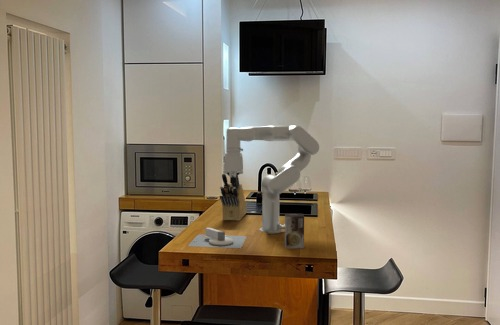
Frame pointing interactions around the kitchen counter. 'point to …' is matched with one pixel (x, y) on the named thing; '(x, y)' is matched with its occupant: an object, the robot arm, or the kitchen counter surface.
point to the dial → (217, 237)
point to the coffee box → (294, 230)
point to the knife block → (232, 200)
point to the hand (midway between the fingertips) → (233, 184)
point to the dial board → (204, 242)
